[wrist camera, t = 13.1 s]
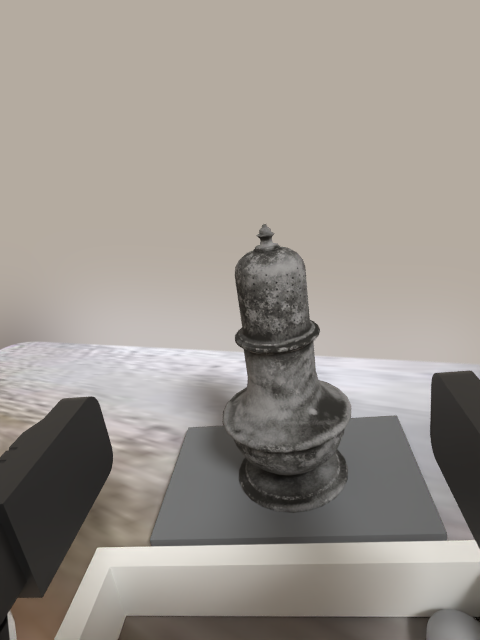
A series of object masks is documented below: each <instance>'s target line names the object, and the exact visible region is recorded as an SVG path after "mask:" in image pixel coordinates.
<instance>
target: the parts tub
mask: <svg viewBox="0 0 480 640" xmlns="http://www.w3.org/2000/svg"><path fill="white" fill-rule="evenodd" d="M126 616H331V617H430V619H429V621H428V623H427V633H426V640H480V623H479V622H478V621H477V620H475V619H474V618H473V617H480V549H479V547H478V545H477V543H476V541H475V540H462V541H411V542H359V543H308V544H257V545H206V546H155V547H104V548H97V550H96V552H95V554H94V556H93V558H92V560H91V563H90V565H89V567H88V569H87V571H86V573H85V575H84V577H83V580H82V582H81V584H80V586H79V588H78V590H77V592H76V594H75V597H74V599H73V601H72V603H71V605H70V607H69V609H68V611H67V614H66V616H65V618H64V620H63V622H62V624H61V626H60V628H59V631H58V633H57V635H56V637H55V639H54V640H118V638H119V635H120V632H121V629H122V626H123V623H124V620H125V618H126Z"/></svg>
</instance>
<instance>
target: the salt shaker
mask: <svg viewBox="0 0 480 640" xmlns="http://www.w3.org/2000/svg"><path fill="white" fill-rule="evenodd" d="M259 233H260V234H258V235H257V236H258V237H259V238H260V240H261V242H260V245H258V246H256V247H255V249H254V250H253V251H251V252H249V253H247V254H246V255H244V256H243V257H242V258H241V259H240V260H239V261H238V263H237V265H236V267H235V279H236V287H237V293H238V301H239V307H240V314H241V321H242V328H241V329H240V330H239V331H238V332H237V334H236V335H235V341H236V343H237V345H238V346H240V347H242V348H243V349H244V354H245V361H246V368H247V375H248V384H247V387H246V388H245V389H243V390H242V391H240V392H239V393H237V394H236V395H235V396H234V397H233V398H232V399H231V400H230V401H229V402H228V403H227V405H226V407H225V409H224V411H223V424H224V427H225V429H226V431H227V433H228V434H229V435H230V436H231V437H232V438H233V439H234V442H235V444H236V446H237V447H238V449H239V450H240V451H241V453H242V454H243V456H244V457H245V458H244V460H243V461H242V464H241V467H240V469H239V481H240V484H241V486H242V489H243V491H244V493H245V494H246V495H247V496H248V497H249V498H250V499H251V500H252V501H254V502H255V503H257V504H258V505H260V506H262V507H264V508H267V509H270V510H273V511H277V512H287V513H296V512H305V511H310V510H313V509H316V508H319V507H322V506H324V505H326V504H327V503H329V502H331V501H332V500H334V499H335V498H336V497H337V496H338V495H339V494H340V493H341V492H342V490H343V489H344V487H345V485H346V482H347V480H348V466H347V463H346V460H345V458H344V456H343V455H342V454H341V453H340V452H339V450H338V449H337V448H338V446H339V444H340V442H341V439H342V437H343V435H344V430H345V428H346V426H347V424H348V422H349V420H350V418H351V404H350V402H349V400H348V398H347V396H346V395H345V394H344V393H343V392H341V391H340V390H339V389H338V388H337V387H335V386H333V385H331V384H329V383H327V382H324V381H320V380H318V377H317V373H316V368H315V356H314V345H313V341H314V340H315V338H317V336H318V335H319V332H320V329H319V327H318V325H317V324H316V323H314V322H313V321H311V320H310V319H309V307H308V295H307V283H306V272H305V265H304V262H303V259H302V258H301V257H300V256H299V255H298V253H297V252H295V251H293V250H291V249H289V248H286V247H280V246H279V245H278V244H276V243H273V242H272V239H271V238H272V236H273V235H274V233H273V232H271V229H270V228H269V227H267V225H266V224H264V225H262V228H261V229H260V230H259Z"/></svg>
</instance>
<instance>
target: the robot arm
mask: <svg viewBox="0 0 480 640" xmlns="http://www.w3.org/2000/svg"><path fill="white" fill-rule="evenodd" d="M430 437H431V444H432V449H433V453H434V456H435V459H436V461H437V463H438V465H439V467H440V470H441V472H442V474H443V476H444V478H445V480H446V482H447V484H448V486H449V488H450V490H451V492H452V494H453V496H454V498H455V500H456V502H457V504H458V506H459V508H460V510H461V512H462V514H463V516H464V518H465V520H466V522H467V524H468V526H469V528H470V531H471V533H472V535H473V537H474V539H475V541H476V543H477V545H478V547H479V549H480V380H479V378H478V377H477V376H476V375H475V374H474V373H473V372H472V371H458V372H444V373H435V374H434V375H433V377H432V383H431V421H430ZM112 463H113V451H112V446H111V443H110V439H109V436H108V432H107V429H106V425H105V422H104V418H103V415H102V411H101V408H100V405H99V402H98V401H97V399H96V398H95V397H78V398H65V399H62V400H60V401H59V402H58V403H57V405H56V406H55V407H54V408H53V409H52V410H51V411H50V412H49V413H48V415H47V416H46V417H45V418H44V419H43V420H41V421H40V422H38V423H37V424H35V425H34V426H32V427H31V428H29V429H28V430H26V431H25V432H23V433H22V434H21V435H20V436H19V438H18V439H17V440H16V441H15V442H14V443H13V444H12V445H11V446H10V447H9V451H6V452H5V453H4V454H3V455H2V456H1V457H0V640H17V638H16V629H15V621H14V617H13V615H12V613H11V611H10V609H11V607H12V606H13V604H14V602H15V601H16V599H17V598H42V597H43V596H44V594H45V592H46V590H47V588H48V586H49V585H50V583H51V581H52V579H53V577H54V575H55V574H56V572H57V570H58V568H59V566H60V564H61V562H62V561H63V559H64V557H65V555H66V553H67V551H68V550H69V548H70V546H71V544H72V542H73V540H74V539H75V537H76V535H77V533H78V531H79V529H80V527H81V526H82V524H83V522H84V520H85V518H86V516H87V515H88V513H89V511H90V509H91V507H92V505H93V503H94V502H95V500H96V498H97V496H98V494H99V492H100V491H101V489H102V487H103V485H104V483H105V481H106V480H107V478H108V476H109V474H110V471H111V468H112Z"/></svg>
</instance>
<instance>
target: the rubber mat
mask: <svg viewBox="0 0 480 640" xmlns="http://www.w3.org/2000/svg"><path fill="white" fill-rule="evenodd" d="M337 449H338V450H339V452H340V453H341V454H342V455H343V456H344V458H345V460H346V463H347V466H348V480H347V482H346V485H345V487H344V489H343V490H342V492H341V493H340V494H339V495H338V496H337V497H336V498H335V499H334V500H332V501H331V502H329V503H327V504H326V505H324V506H322V507H319V508H316V509H313V510H310V511H305V512H296V513H287V512H277V511H273V510H270V509H267V508H264V507H262V506H260V505H258V504H257V503H255V502H254V501H252V500H251V499H250V498H249V497H248V496H247V495H246V494H245V493H244V491H243V489H242V486H241V484H240V481H239V469H240V467H241V464H242V461H243V460H244V458H245V457H244V456H243V454H242V453H241V451H240V450H239V449H238V447H237V446H236V444H235V442H234V439H233V438H232V437H231V436H230V435H229V434H228V433H227V431H226V429H225V427H224V426H209V427H192V428H188V431H187V434H186V437H185V440H184V442H183V445H182V448H181V451H180V454H179V457H178V460H177V463H176V466H175V469H174V471H173V474H172V477H171V480H170V483H169V486H168V489H167V492H166V495H165V498H164V500H163V503H162V506H161V509H160V512H159V515H158V518H157V521H156V524H155V527H154V529H153V532H152V535H151V538H150V542H151V546H152V547H155V546H206V545H257V544H308V543H359V542H411V541H447V532H446V530H445V527H444V525H443V523H442V520H441V518H440V516H439V513H438V511H437V509H436V506H435V504H434V502H433V499H432V497H431V495H430V492H429V490H428V488H427V485H426V483H425V481H424V478H423V476H422V474H421V471H420V469H419V466H418V464H417V462H416V459H415V457H414V455H413V452H412V450H411V448H410V445H409V443H408V441H407V438H406V436H405V434H404V431H403V429H402V427H401V424H400V422H399V420H398V417H397V416H380V417H363V418H350V420H349V422H348V424H347V426H346V428H345V430H344V435H343V437H342V439H341V442H340V444H339V446H338V448H337Z"/></svg>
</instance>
